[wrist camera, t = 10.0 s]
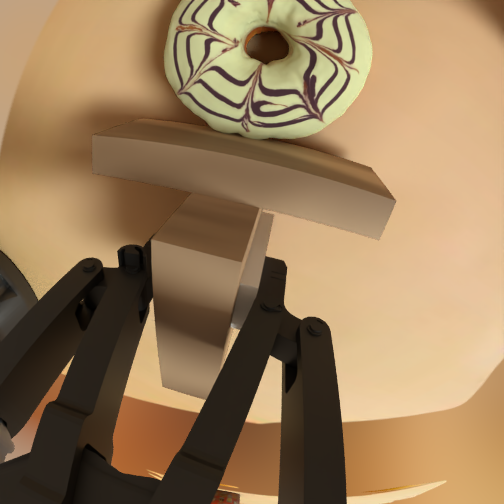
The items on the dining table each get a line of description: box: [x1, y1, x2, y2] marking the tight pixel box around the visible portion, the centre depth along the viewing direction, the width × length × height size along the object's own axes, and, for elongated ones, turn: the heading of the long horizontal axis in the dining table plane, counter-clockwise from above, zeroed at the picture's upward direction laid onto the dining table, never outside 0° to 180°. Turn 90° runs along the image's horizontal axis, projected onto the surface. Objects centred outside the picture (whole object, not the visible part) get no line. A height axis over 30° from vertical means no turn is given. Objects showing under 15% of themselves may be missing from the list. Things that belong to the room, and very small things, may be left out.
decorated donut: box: [164, 0, 372, 139], centre depth 12 cm, size 10×11×4 cm
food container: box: [211, 490, 240, 504], centre depth 101 cm, size 16×16×11 cm
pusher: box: [92, 118, 396, 400], centre depth 15 cm, size 12×14×9 cm
